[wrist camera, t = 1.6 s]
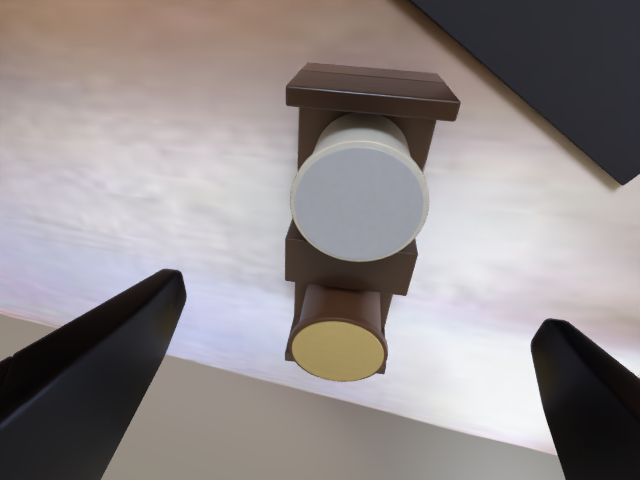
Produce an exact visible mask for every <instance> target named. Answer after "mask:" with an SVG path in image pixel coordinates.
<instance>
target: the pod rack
mask: <svg viewBox="0 0 640 480" xmlns="http://www.w3.org/2000/svg"><path fill="white" fill-rule="evenodd" d="M460 104H461V103H460V101H459V99H458V98H457V97H456V96H455V95H454V93H453V92H452V91H451V90H450V88H449V87H448V86H447V85H446V84H445V82H444V81H443V80H442V79H441V77H440V76H439V75H438V74H433V73H422V72H410V71H399V70H387V69H376V68H364V67H352V66H341V65H329V64H318V63H307V64H306V65H305V66H304V67H303V68H302V69H301V70H300V72H299V73H298V74H297V75H296V76H295V77H294V78H293V79H292V80H291V81H290V82H289V84H288V85H287V86H286V105H287V106H294V107H299V134H298V171H299V169H300V167H301V166H302V165H303V163H304V162H305V161H306V160H307V159H308V158H309V157H310V156H311V155H312V154H313V152H314V149H315V146H316V144H317V141H318V139H319V137H320V135H321V134H322V132H323V131H324V130H325V128H326V127H327V126H328V125H329V124H330V123H332V122H333V121H334V120H336V119H338V118H339V117H341V116H344V115H346V114H350V113H354V112H357V113H368V114H378V115H381V116H384V117H386V118H387V119H389V120H390V121H392V122H393V123H394V124H395V125H397V127H398V128H399V129H400V130H401V132H402V133H403V135H404V137H405V139H406V141H407V144H408V148H409V152H410V156H411V158H412V159H413V160H414V161H415V163H416V164H417V165H418V167H419V168H420V170H421V171H422V174H423V172H424V168H425V164H426V160H427V156H428V152H429V148H430V144H431V140H432V136H433V132H434V128H435V124H436V120H441V121H452V122H453V121H455V120H456V118H457V114H458V111H459V107H460ZM417 256H418V252H417V246H416V241H415V238H414V239H413V240H412V241H411V242H410V243H409V244H408V245H407V246H406V247H404V248H403V249H401V250H400V251H398V252H396V253H394V254H392V255H390V256H388V257H385V258H382V259H378V260H373V261H364V262H356V261H347V260H341V259H338V258H334V257H332V256H329V255H327V254H325V253H323V252H321V251H320V250H318V249H317V248H315V247H314V246H313V245H312V244H310V243H309V242H308V241H307V240H306V239H305V238H304V236H303V235H302V234H301V232H300V231H299V230H298V228H297V226H296V224H295V222H294V219H293V218H292V221H291V224H290V227H289V230H288V233H287V236H286V238H285V280H286V281H293V282H295V303H294V318H293V323H292V327H291V331H290V335H291V332H292V330H293V329H294V327H295V326H296V325H297V324H298V323H299V321H300V316H301V312H302V307H303V303H304V298H305V293H306V289H307V284H308V283H309V284H316V285H324V286H332V287H340V288H348V289H356V290H364V291H372V292H380V314H381V332H382V334H383V335H384V337H385V329H384V327H385V323H386V319H387V315H388V311H389V307H390V303H391V299H392V295H393V294H395V295H403V296H406V295H407V292H408V288H409V285H410V281H411V277H412V274H413V270H414V267H415V263H416V260H417ZM290 335H289V339H290ZM289 339H288V343H287V348H286V352H285V360H286V361H294V360H293V358H292V356H291V354H290V351H289ZM294 362H295V361H294ZM385 369H386V363H385V364H384V366H383V367H382V368H381V369H380V370H379V371H378V372H377V373H378V374H384V373H385Z"/></svg>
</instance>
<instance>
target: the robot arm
mask: <svg viewBox="0 0 640 480" xmlns="http://www.w3.org/2000/svg"><path fill="white" fill-rule="evenodd" d="M185 302H186V289H185V285H184V280H183V276H182V273H181V272H180V271H178V270H173V269H162V270H160V271H159V272H157V273H155V274H153V275H152V276H150V277H148V278H146V279H145V280H143V281H141V282H139V283H138V284H136V285H134V286H132V287H131V288H129V289H127V290H125V291H123V292H122V293H120V294H118V295H116V296H115V297H113V298H111V299H109V300H108V301H106V302H104V303H102V304H101V305H99V306H97V307H95V308H94V309H92V310H90V311H88V312H87V313H85V314H83V315H81V316H80V317H78V318H76V319H74V320H73V321H71V322H69V323H67V324H66V325H64V326H62V327H60V328H59V329H57V330H55V331H53V332H52V333H50V334H48V335H46V336H45V337H43V338H41V339H39V340H38V341H36V342H34V343H32V344H30V345H29V346H27V347H25V348H23V349H22V350H20V351H18V352H16V353H15V354H14V355H13V357H12V356H10V357H7V358H6V359H4V360H2V361H1V362H0V480H101V478H102V476H103V474H104V472H105V470H106V468H107V466H108V464H109V462H110V460H111V459H112V457H113V455H114V453H115V451H116V449H117V447H118V445H119V443H120V441H121V439H122V438H123V436H124V434H125V431H126V430H127V428H128V426H129V424H130V422H131V420H132V418H133V416H134V414H135V412H136V410H137V409H138V407H139V405H140V403H141V401H142V399H143V397H144V395H145V393H146V391H147V389H148V387H149V385H150V383H151V382H152V380H153V378H154V376H155V374H156V372H157V370H158V368H159V366H160V364H161V362H162V360H163V358H164V356H165V354H166V351H167V349H168V346H169V344H170V341H171V339H172V336H173V333H174V331H175V328H176V326H177V323H178V320H179V318H180V315H181V313H182V310H183V308H184V305H185ZM531 353H532V358H533V363H534V368H535V372H536V377H537V382H538V387H539V392H540V397H541V401H542V405H543V409H544V413H545V416H546V420H547V423H548V426H549V429H550V432H551V435H552V438H553V442H554V445H555V448H556V451H557V454H558V457H559V460H560V463H561V466H562V469H563V472H564V476H565V479H566V480H640V379H639V378H638V377H637V376H636V375H634V374H633V373H632V372H631V371H629V370H628V369H627V368H626V367H624V366H623V365H622V364H621V363H619V362H618V361H617V360H616V359H614V358H613V357H612V356H611V355H609V354H608V353H607V352H605V351H604V350H603V349H602V348H600V347H599V346H598V345H597V344H595V343H594V342H593V341H592V340H590V339H589V338H588V337H587V336H585V335H584V334H583V333H582V332H580V331H579V330H578V329H577V328H575V327H574V326H573V325H572V324H570V323H569V322H567V321H565V320H559V319H552V318H549V319H546V320H544V322H543V323H542V325H541V326H540V328H539V329H538V331H537V332H536V334H535V336H534V337H533V339H532V341H531Z"/></svg>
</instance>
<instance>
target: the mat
mask: <svg viewBox="0 0 640 480" xmlns="http://www.w3.org/2000/svg"><path fill="white" fill-rule="evenodd" d="M410 1H411V2H412V3H413V4H414V5H415V6H417V7H418V8H419V9H420V10H421V11H422V12H423V13H425V14H426V15H427V16H428V17H429V18H430V19H432V20H433V21H434V22H435V23H436V24H437V25H438V26H440V27H441V28H442V29H443V30H444V31H445V32H446V33H448V34H449V35H450V36H451V37H452V38H453V39H454V40H456V41H457V42H458V43H459V44H460V45H461V46H462V47H464V48H465V49H466V50H467V51H468V52H469V53H470V54H472V55H473V56H474V57H475V58H476V59H477V60H479V61H480V62H481V63H482V64H483V65H484V66H485V67H487V68H488V69H489V70H490V71H491V72H492V73H493V74H495V75H496V76H497V77H498V78H499V79H500V80H501V81H503V82H504V83H505V84H506V85H507V86H508V87H509V88H511V89H512V90H513V91H514V92H515V93H516V94H517V95H519V96H520V97H521V98H522V99H523V100H524V101H526V102H527V103H528V104H529V105H530V106H531V107H532V108H534V109H535V110H536V111H537V112H538V113H539V114H540V115H542V116H543V117H544V118H545V119H546V120H547V121H548V122H550V123H551V124H552V125H553V126H554V127H555V128H556V129H558V130H559V131H560V132H561V133H562V134H563V135H564V136H566V137H567V138H568V139H569V140H570V141H571V142H573V143H574V144H575V145H576V146H577V147H578V148H579V149H581V150H582V151H583V152H584V153H585V154H586V155H587V156H589V157H590V158H591V159H592V160H593V161H594V162H595V163H597V164H598V165H599V166H600V167H601V168H602V169H603V170H605V171H606V172H607V173H608V174H609V175H610V176H611V177H613V178H614V179H615V180H616V181H617V182H618V183H620V184H621V185H625V184H626V183H628V182H629V181H630V180H632V179H633V178H635V177H636V176H637V175H639V174H640V0H410Z"/></svg>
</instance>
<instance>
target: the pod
mask: <svg viewBox="0 0 640 480" xmlns="http://www.w3.org/2000/svg"><path fill="white" fill-rule="evenodd" d="M289 351H290V354H291V356H292V358H293V360H294V361H295V362H296V363H297V364H298V365H299V366H300V367H301V368H302V369H304V370H305V371H307V372H308V373H310V374H312V375H315V376H317V377H320V378H323V379H327V380H332V381H344V382H346V381H357V380H361V379H365V378H368V377H370V376H372V375H374V374H375V373H377V372H378V371H379V370H380V369H381V368H382V367H383V366H384V364H385V363H386V360H387V356H388V348H387V342H386V339H385V337H384V335H383V334H382V332H381V314H380V292H372V291H364V290H356V289H348V288H340V287H332V286H324V285H316V284H309V283H308V284H307V289H306V293H305V298H304V303H303V307H302V312H301V316H300V321H299V323H298V324H297V325H296V326H295V327H294V329H293V330H292V332H291V335H290V339H289Z"/></svg>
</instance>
